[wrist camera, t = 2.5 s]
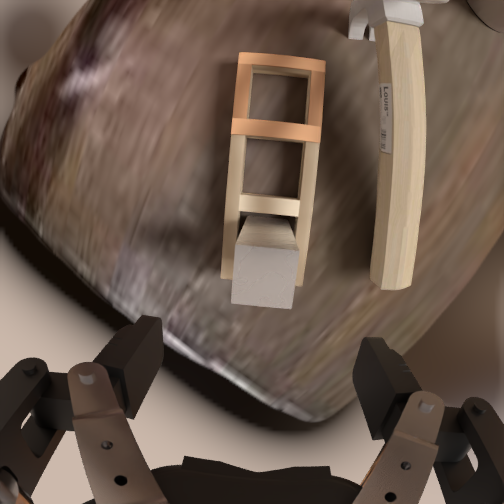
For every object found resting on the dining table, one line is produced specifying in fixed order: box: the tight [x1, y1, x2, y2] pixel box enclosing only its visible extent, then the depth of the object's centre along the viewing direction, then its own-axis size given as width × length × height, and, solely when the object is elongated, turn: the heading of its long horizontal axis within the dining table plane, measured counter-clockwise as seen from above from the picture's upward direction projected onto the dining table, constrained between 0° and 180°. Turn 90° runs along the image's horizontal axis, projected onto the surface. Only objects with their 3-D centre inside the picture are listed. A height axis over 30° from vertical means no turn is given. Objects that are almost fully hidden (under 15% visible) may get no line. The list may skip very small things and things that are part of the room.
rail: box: [221, 52, 326, 286], centre depth 28 cm, size 8×22×3 cm, turn 175°
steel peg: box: [231, 216, 300, 309], centre depth 25 cm, size 4×4×12 cm
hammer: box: [348, 0, 449, 290], centre depth 22 cm, size 16×5×30 cm
